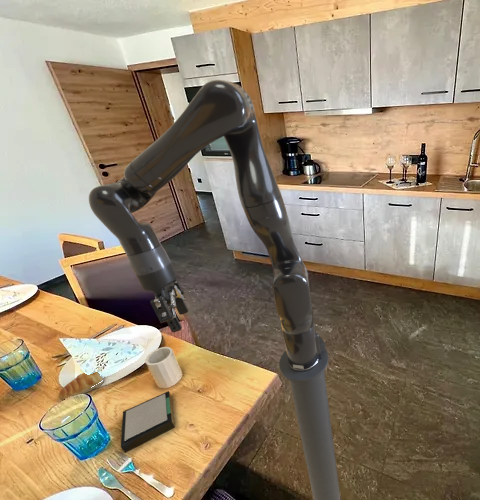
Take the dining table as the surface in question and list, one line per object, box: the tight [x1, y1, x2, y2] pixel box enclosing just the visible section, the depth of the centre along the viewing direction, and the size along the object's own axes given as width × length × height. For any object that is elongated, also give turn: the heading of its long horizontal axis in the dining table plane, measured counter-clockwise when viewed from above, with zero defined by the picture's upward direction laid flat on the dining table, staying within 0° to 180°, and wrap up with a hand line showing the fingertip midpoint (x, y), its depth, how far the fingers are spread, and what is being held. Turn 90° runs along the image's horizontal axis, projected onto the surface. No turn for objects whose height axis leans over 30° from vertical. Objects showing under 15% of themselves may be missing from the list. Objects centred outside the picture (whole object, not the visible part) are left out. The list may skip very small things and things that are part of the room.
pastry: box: [58, 372, 105, 400], centre depth 80 cm, size 9×7×4 cm
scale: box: [120, 390, 176, 454], centre depth 70 cm, size 10×10×3 cm
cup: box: [144, 346, 183, 389], centre depth 80 cm, size 6×6×9 cm
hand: (181, 321), depth 75 cm, fingers open, 8 cm apart
